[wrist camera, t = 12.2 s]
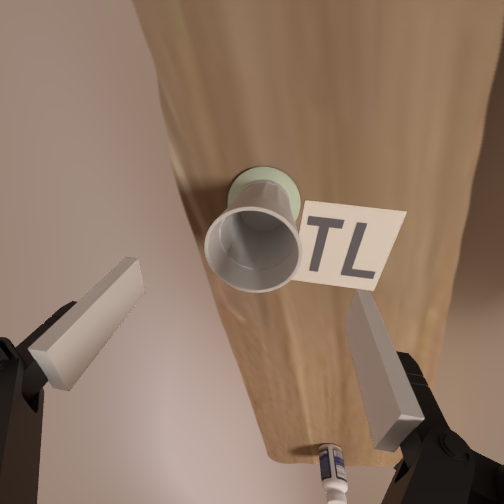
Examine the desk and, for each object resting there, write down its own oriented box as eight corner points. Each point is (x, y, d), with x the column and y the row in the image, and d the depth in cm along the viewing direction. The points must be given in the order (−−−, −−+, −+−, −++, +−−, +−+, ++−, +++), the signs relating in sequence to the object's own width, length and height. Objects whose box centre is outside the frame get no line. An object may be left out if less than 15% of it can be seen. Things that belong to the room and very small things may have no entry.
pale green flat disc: (229, 162, 29) (228, 163, 28) (306, 170, 28) (306, 171, 27) (227, 231, 33) (226, 233, 33) (293, 239, 32) (293, 241, 32)
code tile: (304, 199, 30) (305, 200, 30) (405, 210, 29) (407, 212, 29) (290, 277, 36) (290, 279, 36) (372, 288, 35) (374, 291, 35)
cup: (270, 245, 33) (262, 307, 22) (220, 210, 31) (187, 259, 21) (311, 199, 29) (324, 247, 19) (256, 157, 27) (238, 184, 17)
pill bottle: (319, 453, 61) (324, 508, 52) (317, 442, 58) (322, 498, 50) (342, 454, 59) (351, 510, 51) (341, 443, 57) (350, 500, 48)
